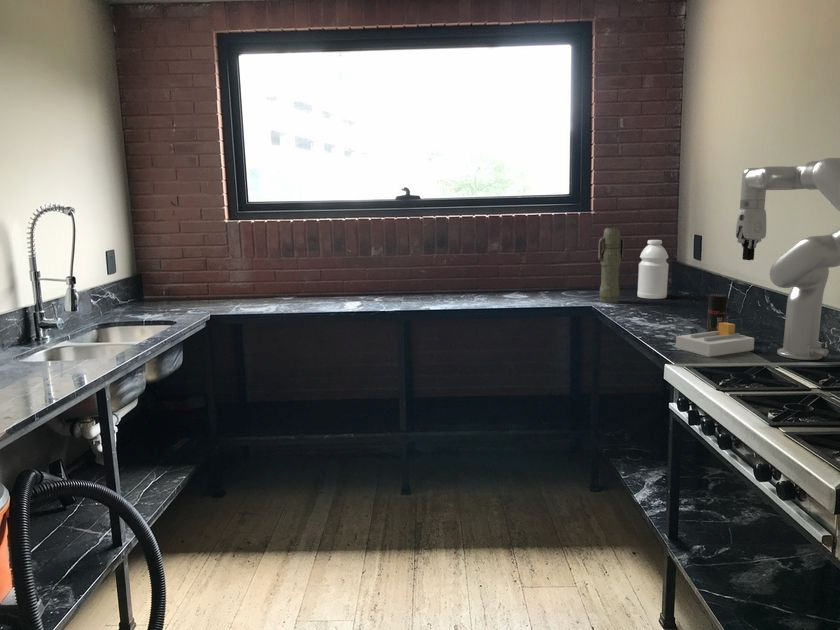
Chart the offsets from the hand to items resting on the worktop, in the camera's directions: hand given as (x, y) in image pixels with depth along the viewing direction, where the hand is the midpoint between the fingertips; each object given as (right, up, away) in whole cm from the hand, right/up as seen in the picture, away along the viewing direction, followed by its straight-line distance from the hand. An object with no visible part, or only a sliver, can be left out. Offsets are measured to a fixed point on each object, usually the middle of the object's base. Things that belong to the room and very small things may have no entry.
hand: (747, 259), depth 231 cm
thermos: (-22, -13, +91) cm, 95 cm away
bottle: (+3, -10, +104) cm, 105 cm away
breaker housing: (-14, -30, -6) cm, 34 cm away
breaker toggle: (-10, -26, -5) cm, 28 cm away
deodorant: (-6, -27, +13) cm, 30 cm away
